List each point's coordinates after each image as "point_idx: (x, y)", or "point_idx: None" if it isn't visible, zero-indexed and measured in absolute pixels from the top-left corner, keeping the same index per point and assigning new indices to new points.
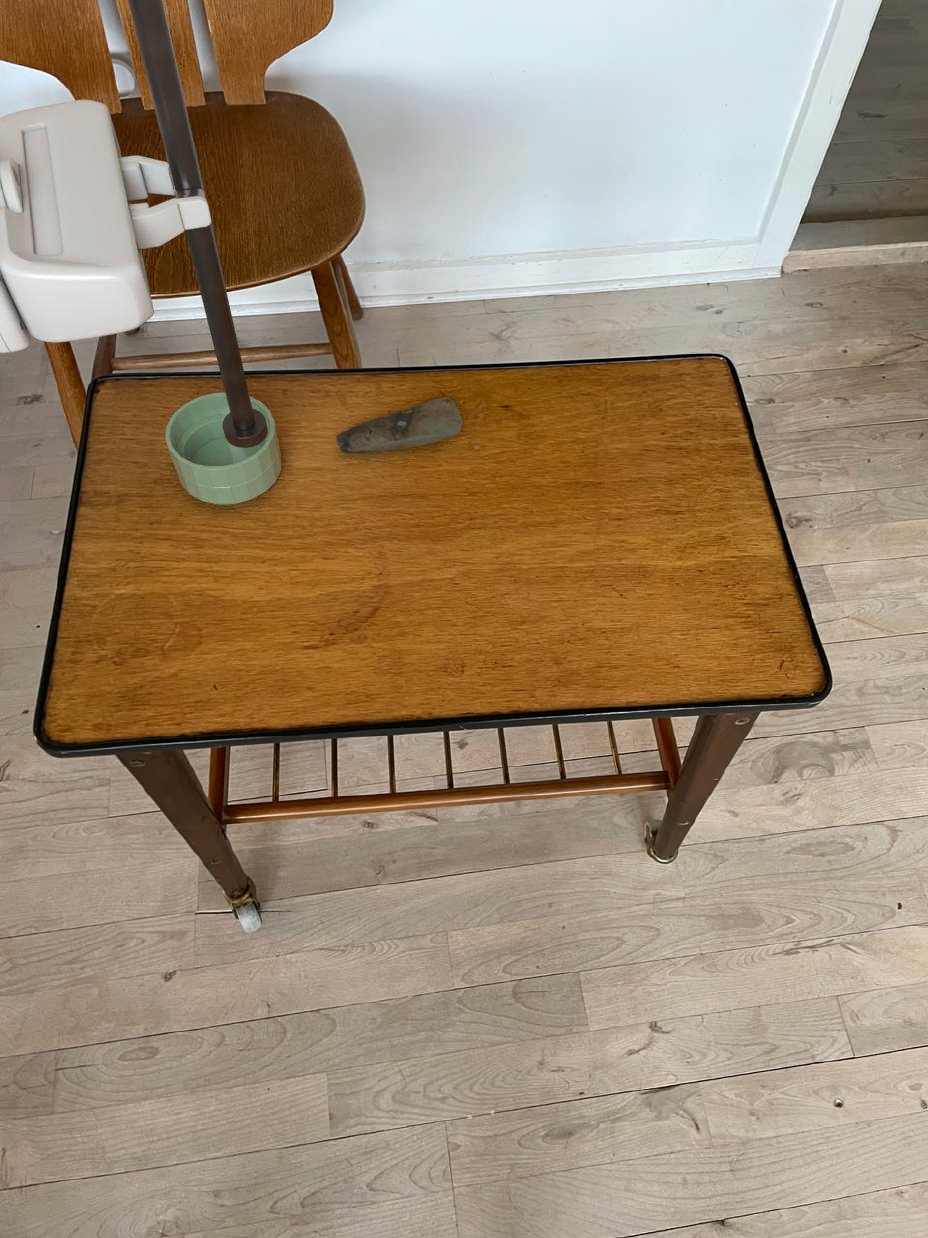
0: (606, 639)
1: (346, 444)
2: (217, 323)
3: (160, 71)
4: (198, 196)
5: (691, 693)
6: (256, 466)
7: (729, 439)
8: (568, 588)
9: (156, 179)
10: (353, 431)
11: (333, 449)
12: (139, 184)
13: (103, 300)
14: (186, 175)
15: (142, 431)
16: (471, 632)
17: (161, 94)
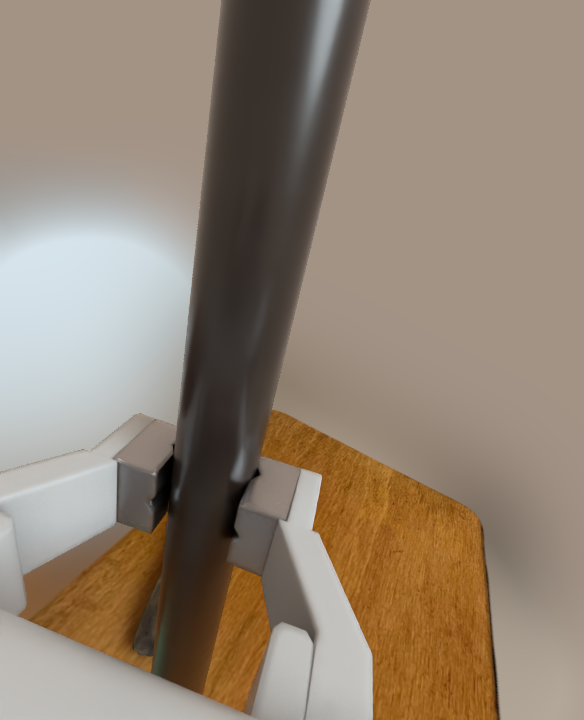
0: (433, 585)
1: (153, 644)
2: None
3: (346, 86)
4: (301, 474)
5: (479, 569)
6: None
7: (315, 434)
8: (386, 576)
9: (59, 519)
10: (149, 624)
11: (133, 664)
12: (6, 584)
13: None
14: (262, 441)
15: None
16: (410, 684)
17: (315, 185)
